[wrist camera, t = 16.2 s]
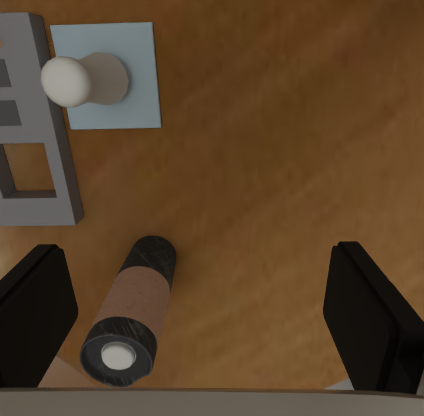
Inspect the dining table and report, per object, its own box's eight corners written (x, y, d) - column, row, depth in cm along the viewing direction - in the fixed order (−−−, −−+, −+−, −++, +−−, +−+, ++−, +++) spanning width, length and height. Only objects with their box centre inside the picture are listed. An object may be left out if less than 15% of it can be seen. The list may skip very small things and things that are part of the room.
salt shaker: (90, 45, 37) (30, 34, 25) (137, 62, 38) (99, 58, 26) (83, 94, 40) (24, 105, 28) (127, 109, 40) (88, 126, 28)
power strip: (-49, 19, 37) (-77, 14, 34) (42, 16, 37) (23, 11, 33) (12, 217, 48) (-4, 228, 44) (84, 216, 47) (73, 227, 44)
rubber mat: (52, 26, 37) (50, 25, 37) (152, 22, 37) (151, 22, 36) (73, 128, 42) (71, 129, 41) (161, 126, 42) (160, 127, 41)
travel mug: (131, 230, 48) (76, 329, 30) (180, 237, 48) (156, 339, 30) (129, 271, 51) (78, 383, 33) (175, 277, 51) (151, 392, 33)
